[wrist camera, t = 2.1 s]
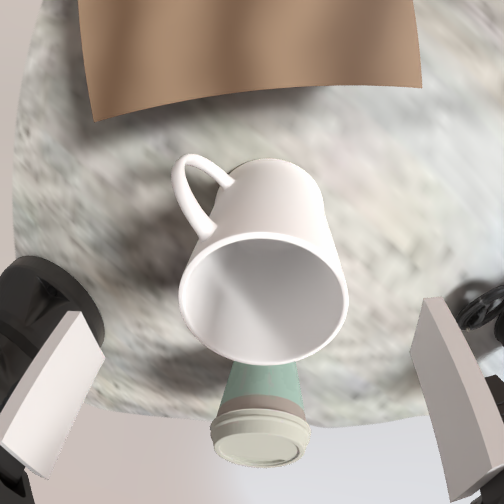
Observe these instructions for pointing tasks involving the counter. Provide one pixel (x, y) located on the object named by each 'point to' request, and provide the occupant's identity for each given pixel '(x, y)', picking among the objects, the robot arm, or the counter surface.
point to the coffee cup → (261, 417)
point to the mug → (260, 264)
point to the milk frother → (483, 313)
